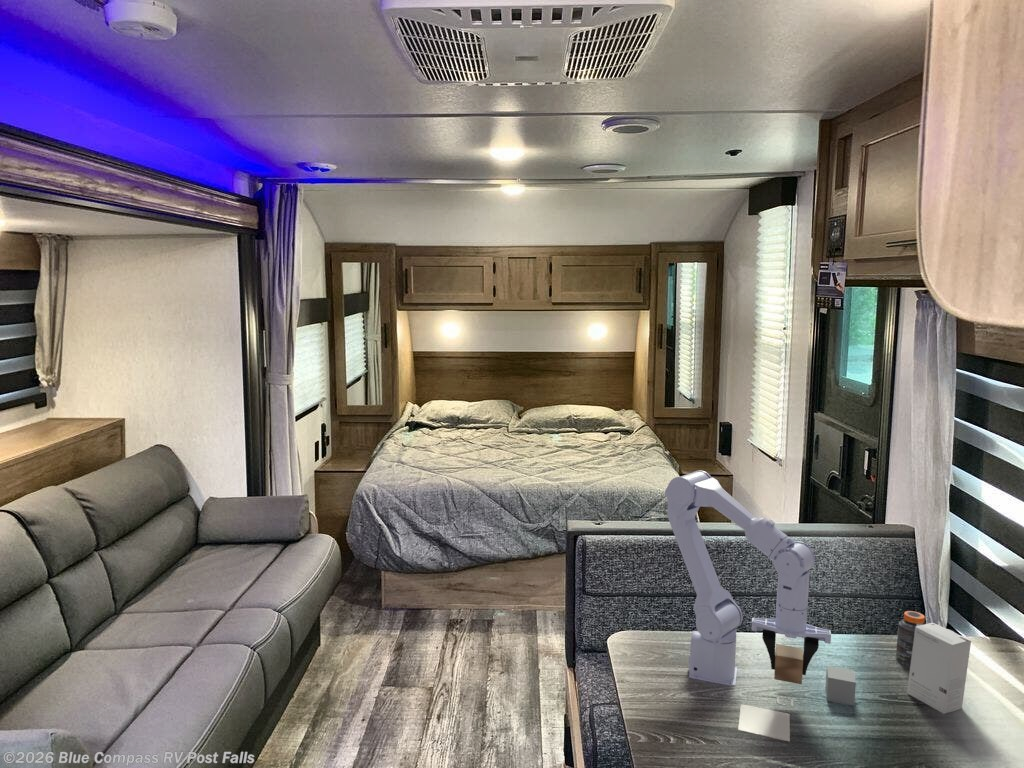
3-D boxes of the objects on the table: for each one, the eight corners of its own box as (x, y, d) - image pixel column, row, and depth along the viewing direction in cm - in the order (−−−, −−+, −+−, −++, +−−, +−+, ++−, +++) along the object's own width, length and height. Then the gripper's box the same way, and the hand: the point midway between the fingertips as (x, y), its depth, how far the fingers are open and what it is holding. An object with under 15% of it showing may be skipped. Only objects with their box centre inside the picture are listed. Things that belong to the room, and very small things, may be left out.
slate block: (826, 700, 139) (828, 677, 138) (825, 688, 144) (826, 665, 143) (854, 706, 137) (855, 682, 136) (852, 693, 142) (853, 670, 141)
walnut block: (774, 679, 136) (775, 655, 136) (774, 667, 141) (775, 643, 140) (801, 684, 135) (803, 660, 134) (801, 671, 139) (802, 648, 139)
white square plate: (737, 732, 129) (738, 729, 129) (740, 706, 137) (740, 704, 137) (789, 743, 126) (789, 740, 126) (789, 716, 134) (789, 714, 134)
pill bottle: (930, 670, 151) (934, 621, 150) (901, 667, 153) (904, 618, 151) (920, 657, 157) (923, 609, 156) (892, 654, 158) (895, 607, 157)
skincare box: (906, 694, 142) (911, 625, 140) (925, 688, 144) (930, 620, 143) (946, 716, 134) (951, 644, 133) (966, 709, 137) (972, 638, 135)
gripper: (752, 606, 135) (748, 672, 137) (833, 619, 130) (829, 687, 131) (753, 592, 142) (750, 655, 143) (831, 604, 136) (827, 669, 138)
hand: (788, 669), depth 138 cm, fingers closed on walnut block, 5 cm apart
